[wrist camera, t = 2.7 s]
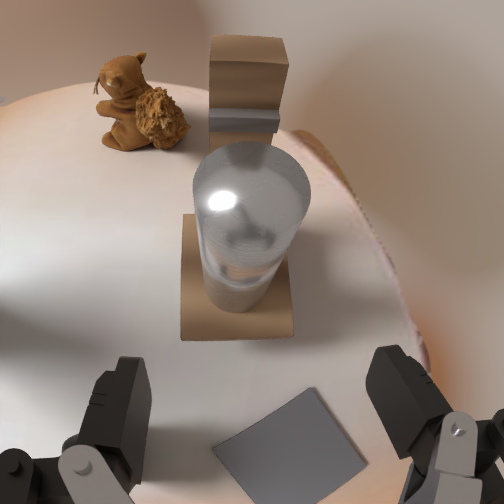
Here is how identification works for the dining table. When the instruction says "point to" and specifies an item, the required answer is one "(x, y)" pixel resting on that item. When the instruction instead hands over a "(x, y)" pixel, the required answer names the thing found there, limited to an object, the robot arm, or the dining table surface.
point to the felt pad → (291, 454)
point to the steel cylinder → (246, 219)
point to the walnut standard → (220, 134)
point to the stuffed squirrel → (137, 107)
